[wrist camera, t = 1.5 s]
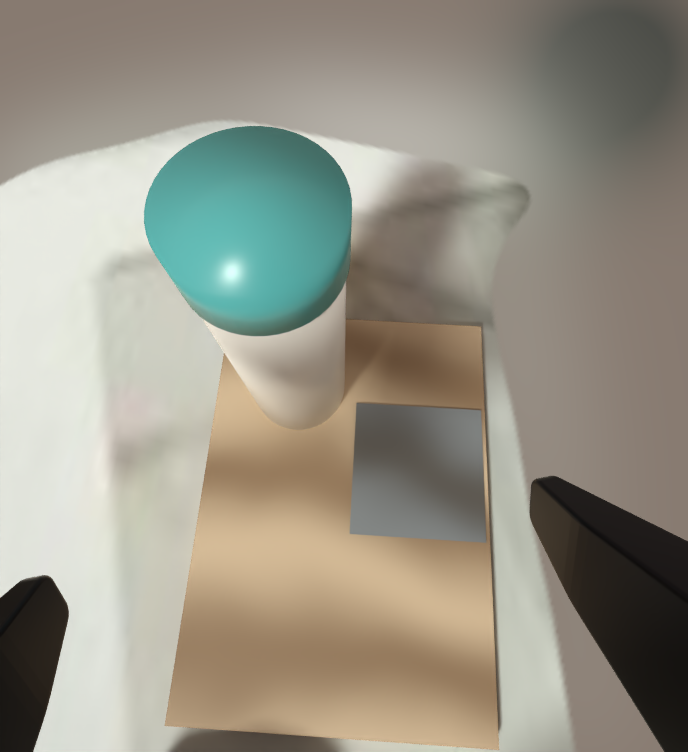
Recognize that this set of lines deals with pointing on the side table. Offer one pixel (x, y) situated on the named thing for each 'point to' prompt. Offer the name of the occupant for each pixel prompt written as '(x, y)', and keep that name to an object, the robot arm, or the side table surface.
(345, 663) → the board
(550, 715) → the side table surface
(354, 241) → the side table surface
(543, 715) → the side table surface
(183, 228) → the ball
